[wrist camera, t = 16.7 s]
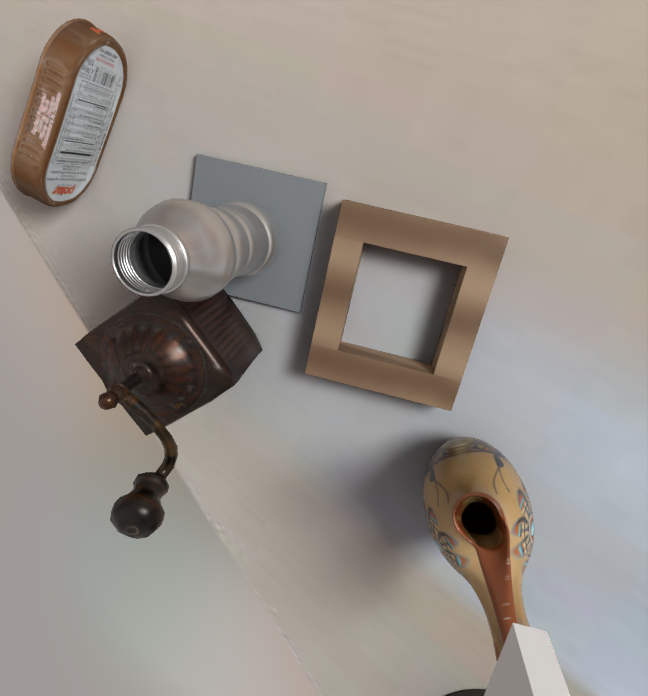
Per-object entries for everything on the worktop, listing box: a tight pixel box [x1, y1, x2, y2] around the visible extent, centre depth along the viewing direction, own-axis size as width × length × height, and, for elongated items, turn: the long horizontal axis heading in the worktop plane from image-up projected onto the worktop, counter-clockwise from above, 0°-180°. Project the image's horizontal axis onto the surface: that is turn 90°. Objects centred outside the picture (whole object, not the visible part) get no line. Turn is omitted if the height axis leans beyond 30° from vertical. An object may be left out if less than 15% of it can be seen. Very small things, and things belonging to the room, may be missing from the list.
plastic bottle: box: [111, 199, 281, 302], centre depth 35 cm, size 6×7×20 cm
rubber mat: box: [191, 154, 327, 312], centre depth 44 cm, size 12×12×1 cm
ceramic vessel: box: [423, 437, 534, 661], centre depth 37 cm, size 16×9×25 cm, turn 19°
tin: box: [11, 19, 127, 207], centre depth 40 cm, size 15×3×8 cm, turn 151°
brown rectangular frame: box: [305, 200, 509, 411], centre depth 43 cm, size 16×14×3 cm
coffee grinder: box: [75, 289, 262, 539], centre depth 40 cm, size 16×11×18 cm
